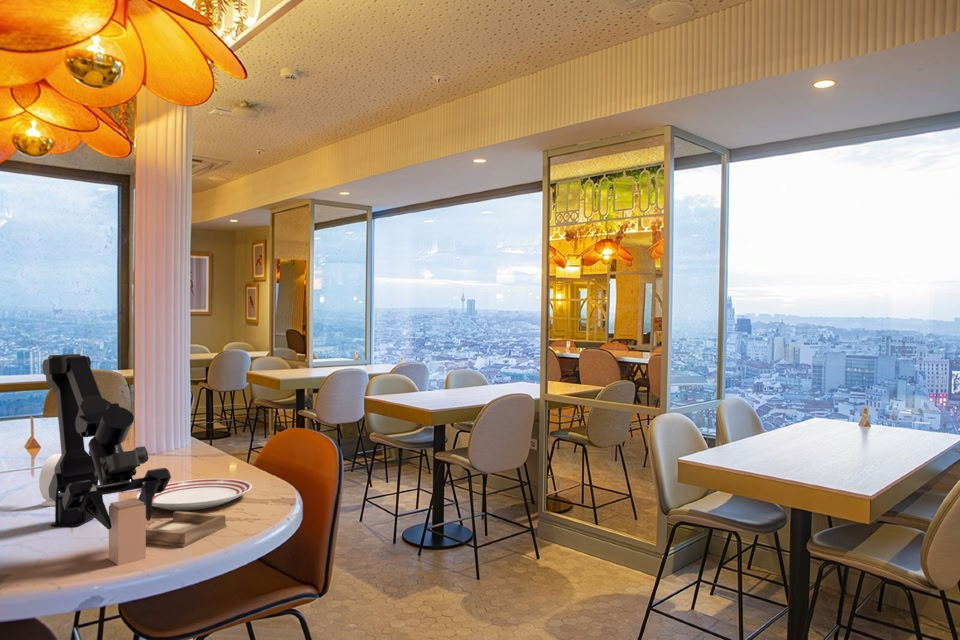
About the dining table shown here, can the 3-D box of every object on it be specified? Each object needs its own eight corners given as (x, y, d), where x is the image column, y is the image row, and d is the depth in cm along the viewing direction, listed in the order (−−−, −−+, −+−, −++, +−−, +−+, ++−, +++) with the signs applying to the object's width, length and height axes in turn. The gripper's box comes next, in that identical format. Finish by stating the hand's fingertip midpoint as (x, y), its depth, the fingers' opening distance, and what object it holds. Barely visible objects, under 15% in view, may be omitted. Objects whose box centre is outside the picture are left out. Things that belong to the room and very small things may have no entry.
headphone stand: (72, 500, 171) (72, 454, 171) (57, 507, 165) (57, 459, 165) (54, 500, 171) (54, 454, 171) (38, 507, 165) (38, 459, 165)
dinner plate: (143, 493, 179) (142, 480, 179) (250, 484, 189) (250, 472, 189) (129, 522, 153) (129, 508, 153) (253, 510, 163) (253, 497, 163)
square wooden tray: (127, 541, 140) (127, 528, 140) (174, 521, 153) (174, 510, 153) (183, 547, 136) (183, 534, 136) (226, 526, 150) (226, 515, 150)
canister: (108, 558, 130) (108, 503, 130) (135, 552, 133) (135, 497, 133) (118, 565, 126) (118, 508, 126) (145, 558, 130) (145, 502, 130)
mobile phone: (122, 490, 178) (118, 479, 191) (122, 494, 178) (118, 482, 191) (154, 486, 182) (147, 475, 195) (154, 490, 182) (147, 479, 195)
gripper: (67, 441, 125) (87, 510, 118) (167, 429, 139) (190, 490, 132) (54, 475, 131) (72, 544, 123) (152, 460, 145) (173, 521, 137)
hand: (130, 523), depth 129 cm, fingers open, 7 cm apart
